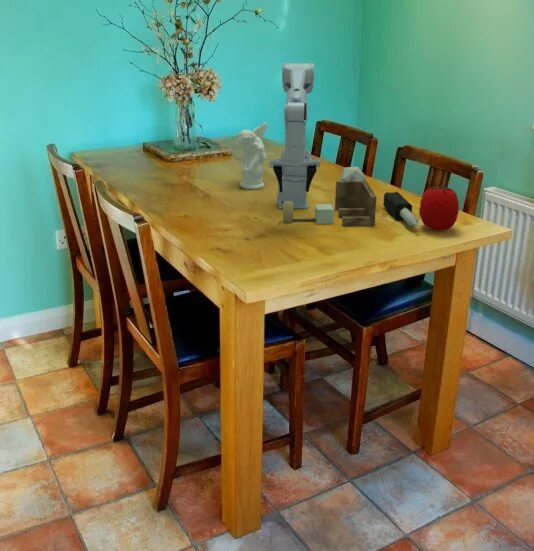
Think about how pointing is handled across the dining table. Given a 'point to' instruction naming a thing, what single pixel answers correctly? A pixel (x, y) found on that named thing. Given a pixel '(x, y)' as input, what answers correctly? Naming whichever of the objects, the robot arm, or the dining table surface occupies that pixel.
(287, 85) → the robot arm
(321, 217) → the pull block
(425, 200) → the red apple
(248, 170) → the cherub figurine
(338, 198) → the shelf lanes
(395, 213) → the black and grey rod
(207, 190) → the dining table surface
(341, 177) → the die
